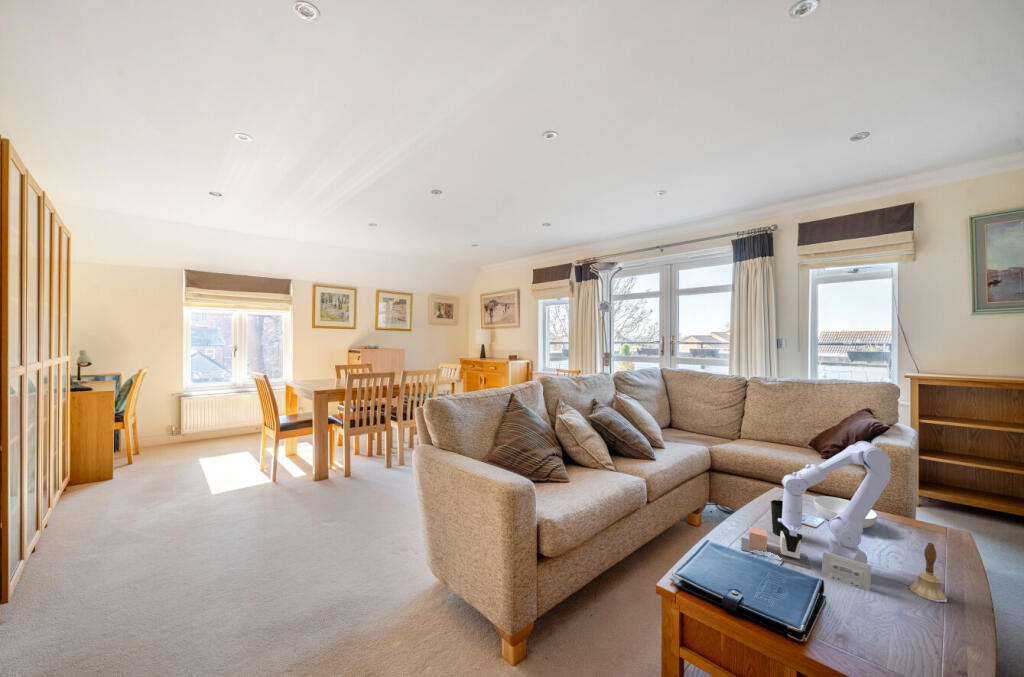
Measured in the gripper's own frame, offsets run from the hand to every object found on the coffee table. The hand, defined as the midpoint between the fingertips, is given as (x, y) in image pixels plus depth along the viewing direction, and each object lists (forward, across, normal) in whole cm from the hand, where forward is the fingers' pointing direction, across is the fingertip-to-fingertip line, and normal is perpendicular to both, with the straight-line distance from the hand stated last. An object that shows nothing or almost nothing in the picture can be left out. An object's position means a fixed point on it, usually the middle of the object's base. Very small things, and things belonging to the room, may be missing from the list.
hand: (790, 547), depth 141 cm
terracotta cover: (+3, 0, -10) cm, 10 cm away
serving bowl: (+4, -47, +23) cm, 52 cm away
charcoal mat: (+3, 0, -5) cm, 6 cm away
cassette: (+4, +7, +14) cm, 16 cm away
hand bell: (+4, 0, +35) cm, 36 cm away
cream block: (+2, 0, 0) cm, 2 cm away
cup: (+4, -18, -1) cm, 19 cm away
